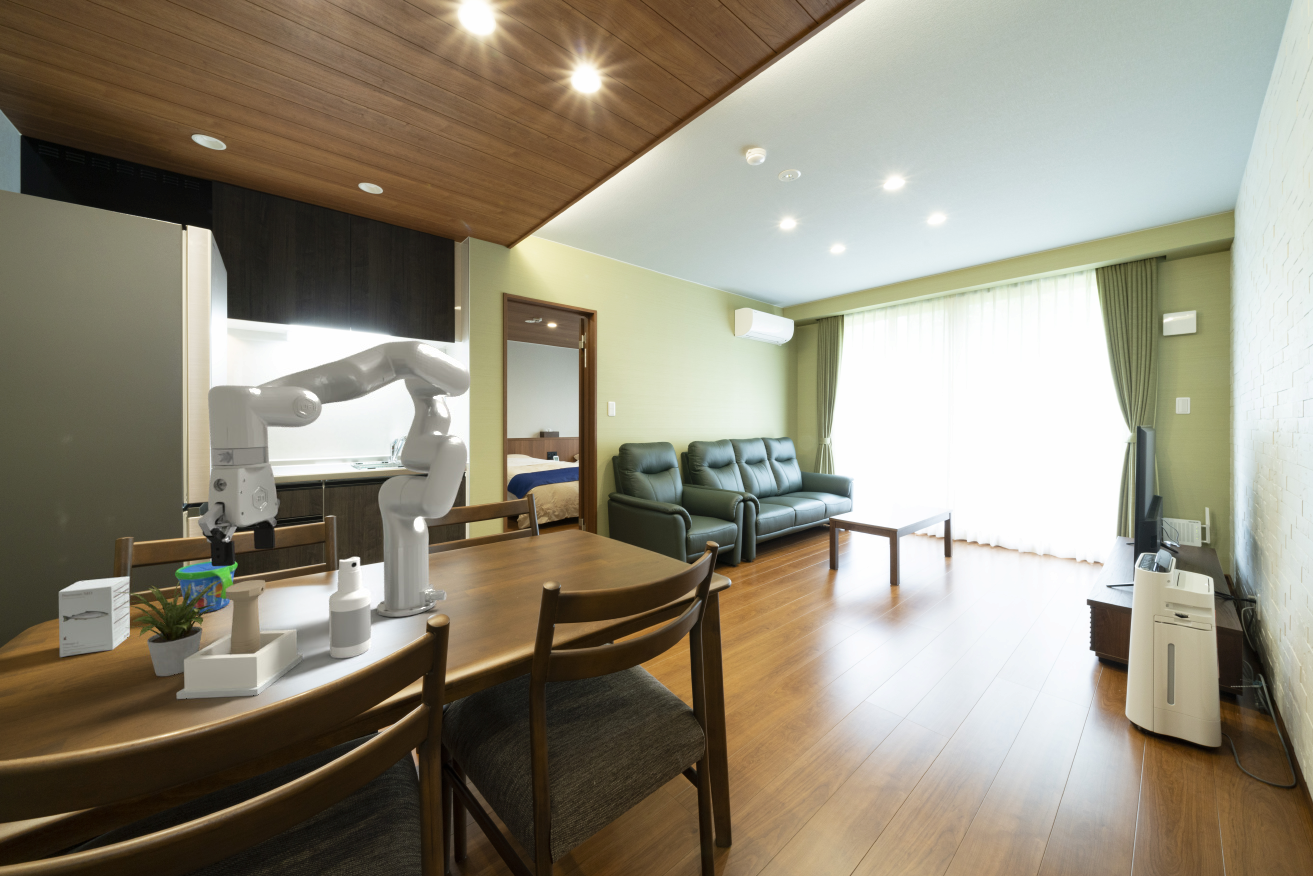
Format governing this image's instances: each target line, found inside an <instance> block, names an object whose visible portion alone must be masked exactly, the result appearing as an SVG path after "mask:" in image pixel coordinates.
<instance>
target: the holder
mask: <svg viewBox="0 0 1313 876" xmlns="http://www.w3.org/2000/svg"><path fill="white" fill-rule="evenodd" d="M297 634H298V633H297V629H285V630H284V629H283V630H281V629H279V630H260V646H259V647H260V648H259V651H257V652H256V653H254V654H232V655H231V632H229V634H226V635H225V636H223V637H221V638H219V639H218V640H216V641H214V642H212V643H211V644H209V645H207V646H205V647H204V648H201V649H199V651H198V652H196V653H195V654H193V655H191V656H189V657H188V658H186V659H184V672H183V674H184V675H183V677H184V678H183V681H184V687H183V688H182V689H181V690H179V691H177V692H176V700H183V699H186V698H187V699H204V698H208V699H209V698H226V697H229V698H230V697H250V696H252V697H253V695H254V696H258V694H259V695H260V694H261V693H262V692H263V691H265V690H267V688H269V687H271V685H273V684H274V683H275V682H277V681H278V680H279V679H280V678H282V676H284V675H285V674H287V673H288V672H290V671H291V670H292V669H293V668H294V667H296V666H297V665H298V664H299V663H300V662H302V661H303V660H304V655H303V654H301V653H300V654H298V643H297V642H298V641H297V640H298V638H297V637H298V636H297Z"/></svg>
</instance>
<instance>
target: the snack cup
mask: <svg viewBox="0 0 1313 876" xmlns="http://www.w3.org/2000/svg"><path fill="white" fill-rule="evenodd" d="M237 568H238V562H236V560H235V564H234V565H232V566H212V563H211V560H209V561H204V562H198V563H194V564H188V565H186V566H182V567H180V568H178V569H177V570H176V571H175V573H174V575H175V577H176V578H177V580H178V582H179V581H180V582H179V586H180V591H181V590H182V589H183V590H182V591H181V595H182V600H184V596H185V593H186V591H187V589H188V586H189V584H190V583H191V593H190V597H189V599H188V601H187V605H188V603H189V602H190V601H191V600H192V599H194V598H195V597H196V596H198V595H199V594H200V593H201V592H202V591H203V590H204V589H205V588H206V587H208V586H209V585H211V584H212V583H214V582H216V581H219V580H220V581H219V582H217V583H216V584H214V585H213V586H212V587H211V588H210V589H209V590H208V591H207V593H205V594H204V595H203V596H202V597H201V598H200V600H199V601H198V602H197V603H196V604H195V606H194V607H193V609H194V608H196V609H197V608H200V607H203V606H208V605H213V606H209V607H207V608H204V609H202V610H200V612H199V613H198V614H199V615H200V614H201V613H202V612H204V611H206V610H208V609H212V610H209V611H207V612H206V613H209V612H214V611H218V610H221V609H223V608H224V607H226V606H228V605H229V604H230V601H231V600H229V599H227V598H226V588H228V587H230V586H231V585H234V577H235V576H234V575H235V572H236V569H237ZM183 576H184V577H183ZM182 577H183V578H182ZM181 578H182V579H181ZM180 579H181V580H180ZM187 585H188V586H187ZM186 586H187V587H186ZM215 604H217V605H215ZM187 605H186V606H187ZM193 609H192V610H193ZM192 610H191V611H192ZM198 614H197V615H198Z"/></svg>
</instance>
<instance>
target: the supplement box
mask: <svg viewBox="0 0 1313 876" xmlns="http://www.w3.org/2000/svg"><path fill="white" fill-rule="evenodd" d="M130 577H131V576H120V577H109V578H108V577H107V578H99V579H98V578H97V579H89V580H87V579H86V580H79V581H76V582H74V583H73V584H70V585H69V586H67V587H65V588H63V589H61V590H60V591H58V624H59V625H58V626H59V627H58V630H59V633H58V634H59V639H58V641H59V658H63V657H68V656H75V655H81V654H89V653H97V652H103V651H104V652H105V651H112V650H114V649H115V648H117V647H118V646H119V645H121V644H122V643H123V642H124V641H126V640H127V639H128V638H129V637H130V635H131V634H130V633H131V632H130V628H131V627H130V626H131V625H130V624H131V623H130V620H131V616H130V608H131V607H130V606H131V605H130V603H131V602H130V594H129V593H130V579H131V578H130ZM117 592H128V593H117ZM125 602H127V603H125ZM121 603H122V604H121ZM124 607H126V608H124ZM120 608H121V609H120ZM127 627H128V628H127ZM127 637H128V638H127Z"/></svg>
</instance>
